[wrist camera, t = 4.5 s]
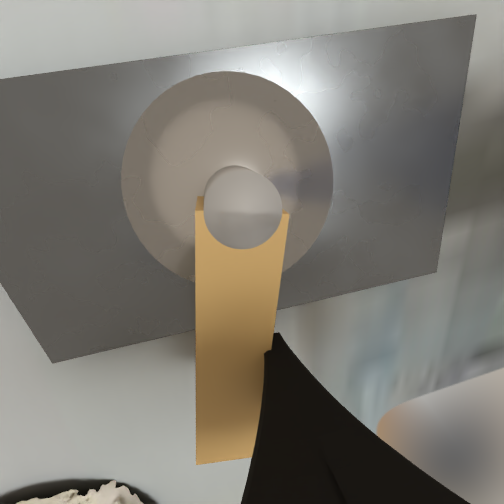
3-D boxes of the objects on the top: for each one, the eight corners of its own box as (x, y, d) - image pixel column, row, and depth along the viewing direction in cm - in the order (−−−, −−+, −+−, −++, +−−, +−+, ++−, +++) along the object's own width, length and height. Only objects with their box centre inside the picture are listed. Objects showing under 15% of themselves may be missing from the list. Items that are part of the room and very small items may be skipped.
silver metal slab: (452, 26, 10) (541, -18, 8) (422, 264, 15) (471, 291, 12) (-86, 101, 9) (-224, 79, 6) (63, 348, 13) (25, 401, 10)
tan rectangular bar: (197, 162, 8) (195, 167, 6) (274, 168, 8) (294, 174, 6) (197, 415, 12) (196, 464, 10) (249, 409, 12) (256, 456, 10)
